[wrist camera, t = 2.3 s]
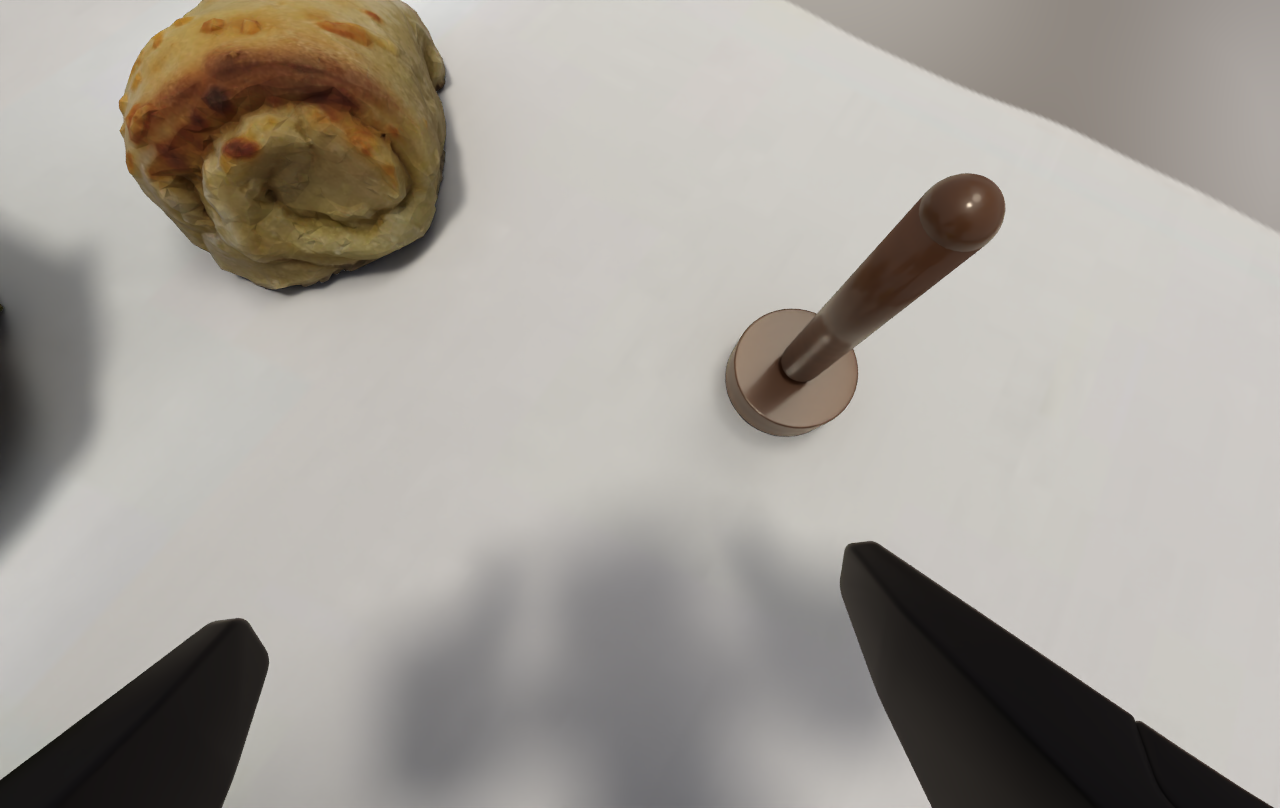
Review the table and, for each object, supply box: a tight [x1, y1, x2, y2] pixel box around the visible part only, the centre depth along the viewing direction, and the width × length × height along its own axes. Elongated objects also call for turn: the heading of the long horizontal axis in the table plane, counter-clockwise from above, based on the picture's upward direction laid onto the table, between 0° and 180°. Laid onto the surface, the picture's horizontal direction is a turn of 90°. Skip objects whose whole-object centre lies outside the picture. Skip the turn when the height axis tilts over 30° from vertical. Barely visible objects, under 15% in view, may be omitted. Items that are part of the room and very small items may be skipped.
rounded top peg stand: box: [726, 173, 1005, 436], centre depth 17 cm, size 5×5×14 cm
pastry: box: [119, 0, 446, 290], centre depth 21 cm, size 14×12×8 cm
